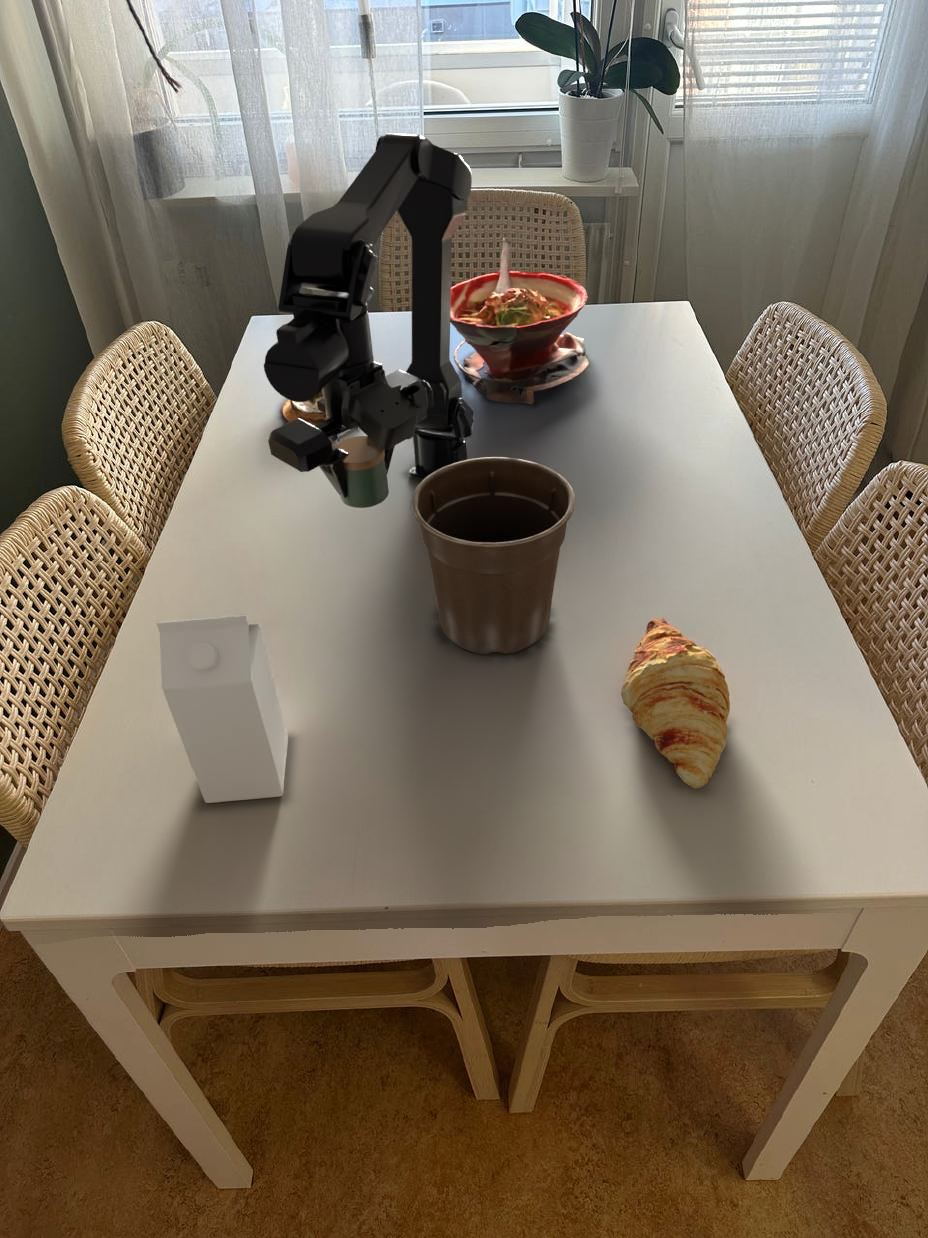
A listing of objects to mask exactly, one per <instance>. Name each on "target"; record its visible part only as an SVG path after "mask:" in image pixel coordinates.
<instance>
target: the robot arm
mask: <svg viewBox="0 0 928 1238" xmlns="http://www.w3.org/2000/svg"><path fill="white" fill-rule="evenodd" d="M472 178H473V177H472V171H471V168H470V166H469V165H468V164H467V163H466V162H465V161H464V159H463V157H462V156H461V154H459V153H455V152H452V151H449V150H448V149H444V148H442V147H440V146H437V145H436V144H433V142H431V141H430V139H428V138H426V137H424V136H422V135H421V134H411V133H410V134H409V133H408V134H407V133H393V132H391V133H390V132H389V133H388V132H387V133H386V134H385V135H381V136H379V137H378V138H377V142H376V146H375V151H374V153H373V154H372V155H371V157H370V158H369V160H368V161H367V162H366V163H365V164H364V167H363V168H362V169H361V170H360V172H359V173H358V174H357V175H356V177H355V179H354V180H353V181H352V182H351V184H350V186H349V187H347V190H346V191H345V192H344V193H343V194H342V196H341V197H340V199H339V200H338V202H336V203H335V204H334V205H333V206H330V207H328V208H325V209H322V210H319V211H316V212H314V213H311V214H310V215H309V216H308V217H307V218H306V219H304V220H303V222H301V223H300V224H299V225H297V226H296V227H295V229H294V231H293V233H292V234H291V236H290V239H289V241H288V244H287V247H286V252H285V253H286V254H285V260H284V266H283V274H282V280H281V286H280V293H279V301H278V312H279V313H282V314H283V313H284V314H291V315H293V318H292V319H291V320H289V322H287V323H284V324H282V325H281V326H280V327H278V328H277V329H276V331H275V333H276V339H277V341H276V342H275V343H274V344H272V346H270V348H269V349H268V350H267V352H266V354H265V357H264V363H263V370H264V374H265V377H266V379H267V381H268V382H269V384H270V386H271V387H272V388H273V389H274V390H275V391H276V393H278V394H279V396H281V397H283V398H285V399H287V400H291V401H294V402H306V401H308V400H311V399H312V398H313V397H314V396H315V395H316V394H317V393H318V392H319V391H320V390H321V389H322V393H323V399H321V400H319V401H317V405H318V410H319V411H321V412H323V413H325V414H326V416H327V419H325V421H323V422H321V423H319V424H317V425H315V426H313V425H311V424H309V423H307V422H305V421H303V420H301V419H299V418H297V419H295V420H293V421H291V422H289V421H288V422H287V423H285V424H284V425H281V426H279V427H276V428H274V429H273V430H272V431H271V432H270V433H269V435H268V440H267V442H268V446H269V451H270V455H271V456H273V457H275V458H276V459H278V460H279V461H281V462H283V463H285V464H286V465H288V466H290V467H292V468H294V469H295V470H297V471H299V472H300V473H307V472H308V473H309V472H311V471H313V470H314V469H316V468H318V467H319V468H320V470H321V471H322V473H323V475H324V476H325V477H326V479H327V480H328V481H329V483H330V484H331V485H332V486H333V489H334V490H335V491H336V492H337V494H338V496H339V497H340V496H342V497H343V498H346V497H347V496H348V491H347V481H346V475H345V469H344V463H343V461H344V460H345V459H346V458H347V456H348V455H349V453H347V452H345V451H343V450H341V449H339V443H338V442H339V440H340V439H339V437H341V436H343V435H345V434H347V433H349V432H351V431H353V430H355V429H357V428H358V429H359V430H360V431H362V432H363V434H365V436H368V437H369V438H370V439H371V440H372V441H373V442H374V444H375V445H376V446H377V447H378V448H380V449H382V450H385V463H386V472H387V474H388V473H389V470H390V465H391V461H392V458H393V453H394V450H395V447H396V446H397V445H400V444H401V443H402V442H404V441H406V440H411V439H412V443H413V453H414V466H413V467H411V468H410V469H409V470H408V473H409V475H410V476H413V477H417V478H419V479H422V480H424V479H425V478H426V477H427V476H429V475H430V474H432V473H433V472H435V471H437V470H439V469H441V468H443V467H445V466H448V465H451V464H453V463H457V462H461V461H465V460H468V447H467V441H465V439H466V438H470V437H471V436H472V435H473V425H474V422H475V420H474V413H475V412H474V410H473V409H472V407H471V406H470V405H469V404H468V403H467V402H466V401H465V399H464V398H463V389H462V387H463V385H462V380H461V378H460V376H459V374H458V372H457V371H456V369H455V366H454V365H453V363H452V361H451V360H450V359H451V358H450V351H451V350H450V349H451V347H450V346H451V322H450V308H451V288H452V260H453V259H452V256H453V255H452V254H453V252H452V251H453V236H454V235H455V233H456V231H457V229H458V227H459V226H460V224H461V222H462V221H463V219H464V217H465V216H466V214H467V207H468V199H469V197H470V195H471V191H472V182H473V180H472ZM396 212H397V214H398V217H400V220H401V222H402V223H403V226H404V227H405V229H406V231H407V232H408V234H409V236H410V239H411V240H410V241H411V361H410V364H409V366H408V368H407V369H406V371H403V370H401V369H397V370H395V371H393V372H391V373H389V374H387V375H386V371H385V370H384V367H383V364H382V363H379V362H378V361H375V358H374V351H373V341H372V334H371V325H370V316H369V309H368V303H367V302H368V301H369V300H371V298H373V297H374V295H375V290H374V289H373V288H372V283H373V279H374V274H375V270H376V269H377V267H378V265H379V261H380V260H379V256H378V251H377V247H376V246H377V243H378V240H379V238H380V237H381V235H382V233H383V232H384V230H385V229H386V227H388V225H389V223H390V221H391V220H392V218H393V217H394V215H395V214H396ZM302 288H304V289H308V290H317V291H327V293H326V294H325V295H324V294H314V293H306V292H301V289H302Z"/></svg>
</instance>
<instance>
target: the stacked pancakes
mask: <svg viewBox="0 0 928 1238" xmlns="http://www.w3.org/2000/svg"><path fill="white" fill-rule="evenodd" d="M321 399H323V393H322V389H321V390H320V391H319V392H318V393H317V394H316V395H315V396H314V397H313V398H312V399H311V400H308V401H306V402H294V401H291V400H289V399H287V400H286V401H285V403H284V405H283V407H282V414H283V417H284V418H285V419H286V420H287V421H288V423H289V422H291V421H293V420H295V419H297V418H299V419H301V420H303V421H305V422H307V423H309V424H311V425H313V426H315V425H317V424H319V423H321V422H323V421H325V419H327V416H326V414H325V413H323V412H321V411H319V410H318V405H317V401H319V400H321Z"/></svg>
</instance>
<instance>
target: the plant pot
mask: <svg viewBox="0 0 928 1238" xmlns="http://www.w3.org/2000/svg"><path fill="white" fill-rule="evenodd" d="M412 494H413V495H412V499H411V509H412V513H413V516H414V518H415V520H416V521H417V523H418V525H419V529H420V534H421V539H422V543H423V544H424V547H425V548H426V549H427V554H428V560H429V566H430V571H431V577H432V582H433V588H434V594H435V599H436V607H437V611H438V619H439V624H440V628H441V630H442V632H443V634H444V635H445V636H446V637H447V639H448V640H450V641H451V642H452V643H453V644H455V645H456V646H458V647H460V648H462V649H464V650H466V651H468V652H471V653H475V654H480V655H486V656H487V655H489V654H491V653H501V654H503V655H509V654H513V653H514V654H515V653H516V652H520V651H522V650H523V651H524V650H525V649H527V648H529V647H531V646H533V645H534V644H535V643H536V642H537V641H539V640H540V639H541V638H542V637H543V635H544V634H545V633H546V631H547V629H548V628H549V625H550V617H551V610H552V603H553V602H552V601H553V595H554V589H555V582H556V578H557V577H556V576H557V570H558V564H559V559H560V553H561V547H562V545H563V544H564V542H565V539H566V534H567V527H568V521H570V519H571V517H572V515H573V512H574V510H575V505H576V496H575V491H574V490H573V487H572V486H571V484H570V482H569V481H568V480H567V479H565V477H563V476H562V475H561V474H560V473H558V472H557V471H555V470H553V469H551V468H549V467H548V466H545V465H543V464H541V463H537V462H535V461H530V460H526V459H521V458H516V457H515V458H514V457H505V456H487V457H476V458H470V459H467V460H465V461H461V462H457V463H453V464H451V465H448V466H445V467H443V468H441V469H439V470H437V471H435V472H433V473H432V474H430V475H429V476H427V477H426V478H425V479H422V480H421V482H420V483H418V485H417V486H416V488H415V489H414V491H413V493H412Z"/></svg>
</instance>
